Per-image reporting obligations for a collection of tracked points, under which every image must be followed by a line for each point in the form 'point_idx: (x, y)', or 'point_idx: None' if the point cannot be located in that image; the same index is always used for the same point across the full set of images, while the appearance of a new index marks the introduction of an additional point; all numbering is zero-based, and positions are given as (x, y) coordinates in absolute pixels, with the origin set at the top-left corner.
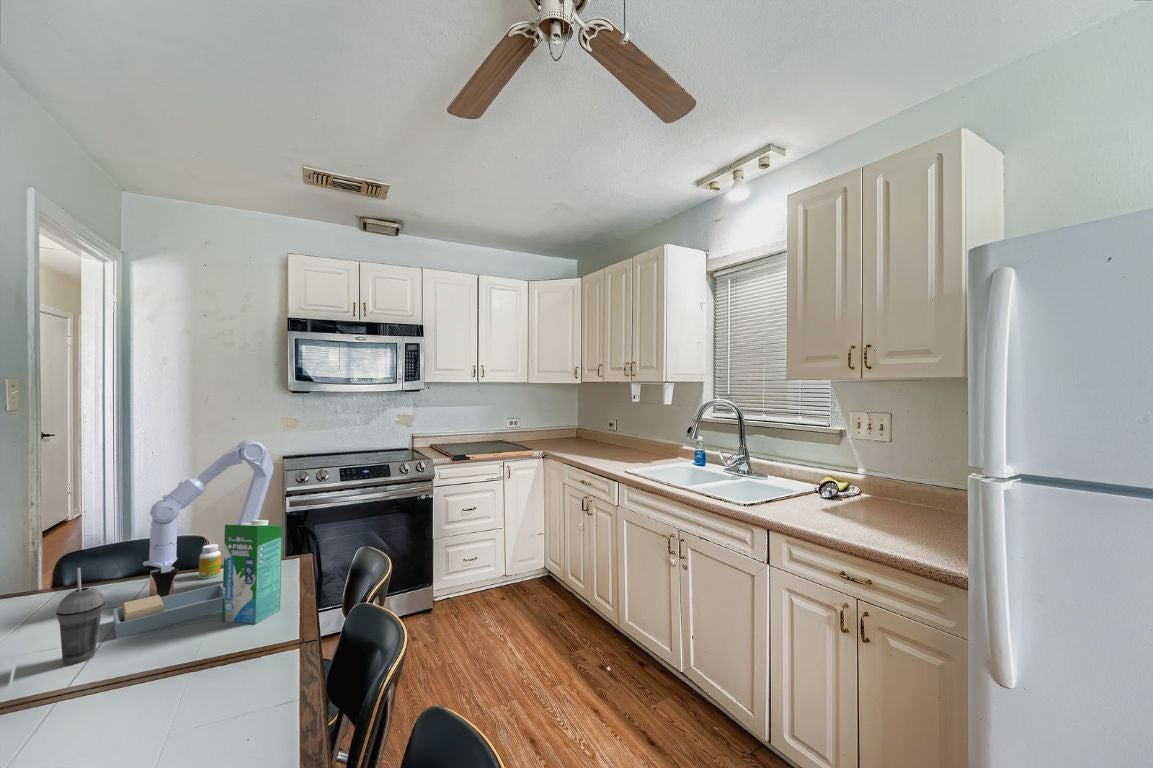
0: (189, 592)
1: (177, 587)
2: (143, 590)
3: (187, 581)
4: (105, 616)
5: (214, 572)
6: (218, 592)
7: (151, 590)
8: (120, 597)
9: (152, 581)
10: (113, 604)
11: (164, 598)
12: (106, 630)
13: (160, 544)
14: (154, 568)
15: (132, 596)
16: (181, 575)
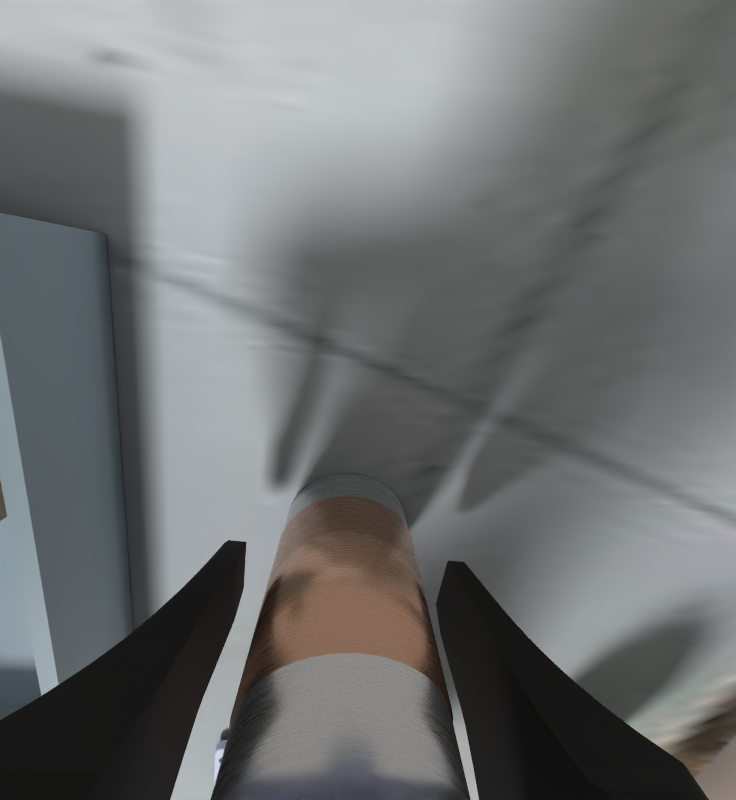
0: (43, 687)
1: (533, 622)
2: (677, 507)
3: (585, 667)
4: (360, 240)
5: None
6: None
7: (316, 548)
8: (687, 395)
9: (294, 630)
10: (583, 334)
11: (22, 565)
12: (7, 172)
13: None
14: (544, 785)
15: (627, 445)
16: (723, 670)
